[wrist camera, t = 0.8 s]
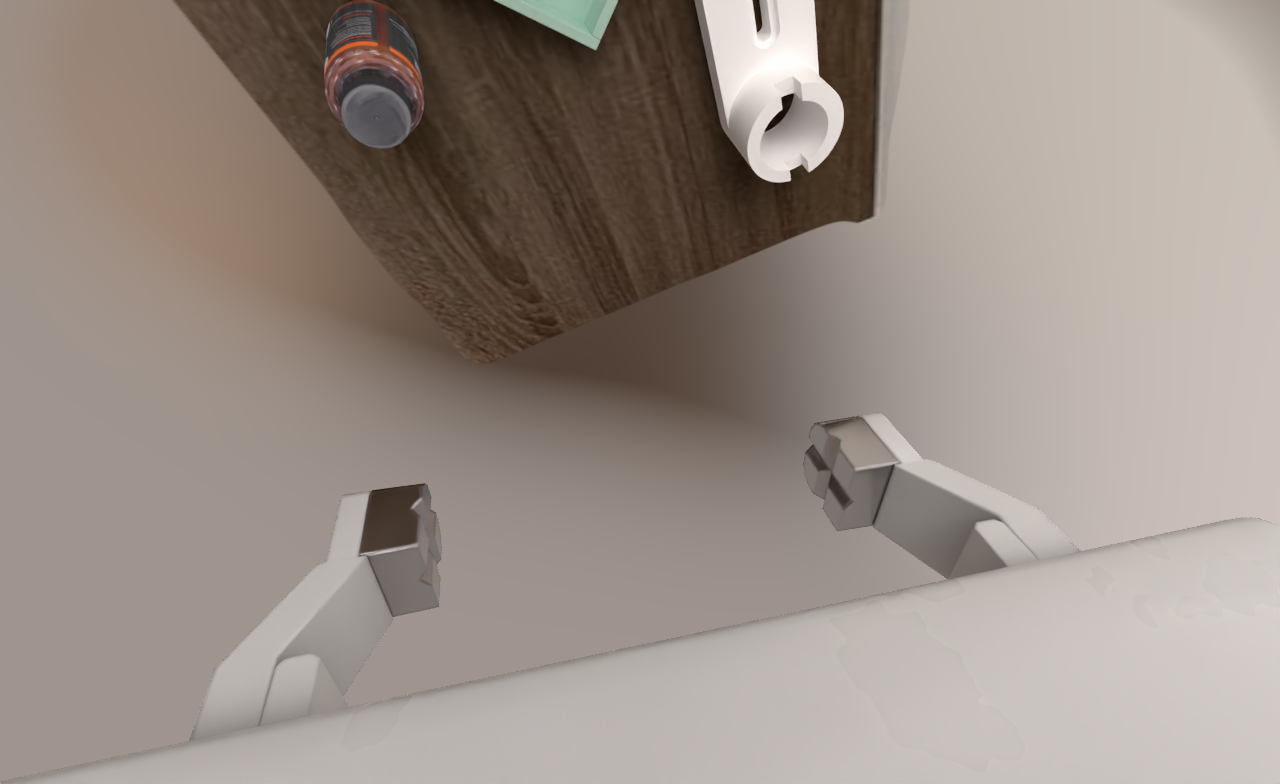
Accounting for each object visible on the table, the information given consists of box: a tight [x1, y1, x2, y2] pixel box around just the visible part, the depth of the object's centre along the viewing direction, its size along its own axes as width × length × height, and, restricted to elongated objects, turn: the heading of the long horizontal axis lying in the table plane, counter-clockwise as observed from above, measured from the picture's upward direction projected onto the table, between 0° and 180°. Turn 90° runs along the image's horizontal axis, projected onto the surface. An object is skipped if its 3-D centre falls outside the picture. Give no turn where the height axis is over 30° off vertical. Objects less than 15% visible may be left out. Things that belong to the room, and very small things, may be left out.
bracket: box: [694, 0, 844, 182], centre depth 49 cm, size 20×9×7 cm, turn 18°
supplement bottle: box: [324, 0, 425, 149], centre depth 40 cm, size 6×6×11 cm
